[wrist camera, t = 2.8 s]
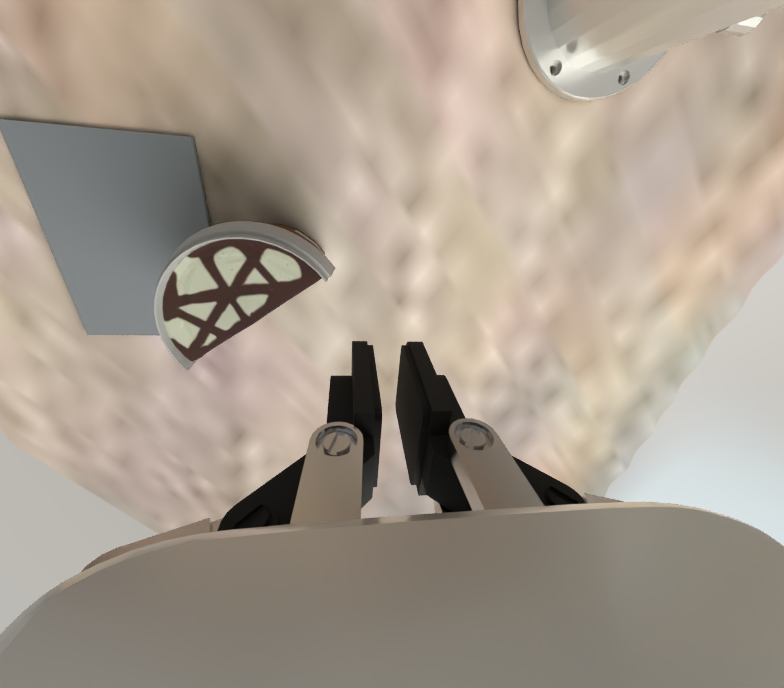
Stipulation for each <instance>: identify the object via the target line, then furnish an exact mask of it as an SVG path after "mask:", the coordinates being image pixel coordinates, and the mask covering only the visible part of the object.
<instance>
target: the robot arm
mask: <svg viewBox="0 0 784 688" xmlns="http://www.w3.org/2000/svg"><path fill="white" fill-rule="evenodd" d="M782 6H784V0H518V15H519V29H520V34H521V39H522V45H523V49H524V51H525V54H526V57H527V59H528V62H529V65H530V66H531V68H532V70H533V71H534V73H535V74H536V76H537V78H538V79H539V80H540V81H541V82H542V83H543V84H544V85H545V86H546V87H547V88H548V90H549V91H551V92H553V93H555V94H556V95H558V96H560V97H561V98H564V99H568V100H572V101H576V102H578V101H594V100H598V99H603V98H606V97H609V96H612V95H614V94H617V93H620V92H622V91H623V90H625V89H627V88H628V87H630V86H632V85H633V84H635V83H636V82H638V81H639V80H640V79H641V78H642V77H644V76H645V75H646V74H647V73H648V72H650V71H651V70H652V69H653V68H654V66H655V65H656V64H657V63H658V62H659V61H660V60H661V59H662V58H663V56H664V55H665V54H666V53H667V51H668V50H669V49H671V48H673V47H676V46H679V45H681V44H684V43H687V42H689V41H692V40H695V39H697V38H700V37H702V36H705V35H708V34H710V33H713V32H718V33H722V34H728V35H734V36H742V35H745V34H747V33H749V32H750V31H751V30H753V29H754V28H755V27H756V26H757V25H758V24H759V22H760V21H761V20H762V19H763V18H764V16H765V14H766V12H769V11H772V10H774V9H777V8H779V7H782ZM550 68H551V69H552V73H550ZM396 414H397V419H398V424H399V429H400V434H401V439H402V444H403V449H404V454H405V459H406V464H407V469H408V474H409V479H410V483H411V485H416V486H417V491H418V495H428V496H429V497H431V498H432V499H433V500H434V508H435V512H436V513H434V514H420V515H406V516H392V517H378V518H365V519H361V508H362V507H363V506H364V505H365V504H366V503H367V502H368V501H369V500H370V499H371V498H372V493H373V487H377V478H378V465H379V452H380V439H381V426H382V407H381V399H380V392H379V385H378V378H377V371H376V364H375V357H374V350H373V345H367V341H352V376H331V379H330V391H329V403H328V415H327V424H325V425H323V426H321V427H319V428H317V429H316V430H315V432H314V433H313V434H312V436H311V438H310V441H309V445H308V449H307V453H306V455H304V456H303V457H302V458H300V459H299V460H297V461H296V462H295V463H293V464H292V465H290V466H289V467H288V468H286V469H285V470H283V471H282V472H281V473H279V474H278V475H276V476H275V477H274V478H272V479H271V480H270V481H268V482H267V483H265V484H264V485H263V486H261V487H260V488H258V489H257V490H256V491H254V492H253V493H251V494H250V495H249V496H247V497H246V498H244V499H243V500H242V501H240V502H239V503H237V504H236V505H235V506H234V507H233V508H232V509H230V510H229V511H228V512H227V513H226V515H225V516H224V518H222V519H219V520H216V521H213V522H211V520H210V518H207V519H204V520H201V521H198V522H195V523H192V524H189V525H186V526H183V527H180V528H177V529H174V530H171V531H168V532H164V533H161V534H158V535H155V536H152V537H149V538H146V539H143V540H140V541H137V542H134V543H131V544H128V545H125V546H121V547H118V548H115V549H113V550H111V551H109V552H107V553H105V554H102V555H101V556H99V557H98V558H97V559H95V560H94V561H92V562H91V563H90V564H88V565H87V566H86V567H85V568H84V569H83V570H82V571H81V572H80V573H79V574H77V575H75V576H73V577H71V578H69V579H68V580H66V581H64V582H62V583H60V584H59V585H58V586H56V587H55V588H53V589H52V590H50V591H49V592H47V593H46V594H44V595H43V596H41V597H40V598H39V599H38V600H37V601H35V602H34V603H33V604H32V605H31V606H29V607H28V608H27V609H26V610H25V611H23V612H22V613H21V614H20V615H19V616H18V617H17V618H16V619H15V620H14V621H13V622H12V623H11V624H10V625H9V626H8V627H7V628H6V629H5V630H4V631H3V632H2V633H1V634H0V688H784V546H783V545H781V544H780V543H779V542H778V541H776V540H775V539H773V538H772V537H770V536H769V535H767V534H766V533H764V532H762V531H761V530H759V529H757V528H755V527H753V526H751V525H749V524H746V523H744V522H741V521H739V520H737V519H734V518H731V517H728V516H725V515H722V514H718V513H715V512H711V511H707V510H704V509H700V508H696V507H690V506H683V505H678V504H669V503H656V502H623V501H619V500H614V499H609V498H604V497H600V496H595V495H590V494H586V493H584V495H583V497H581V496H580V495H579V494H578V493H577V492H576V491H575V490H573V489H572V488H570V487H569V486H567V485H566V484H564V483H562V482H560V481H558V480H556V479H554V478H553V477H551V476H549V475H547V474H545V473H543V472H541V471H539V470H538V469H536V468H534V467H532V466H530V465H528V464H526V463H524V462H523V461H521V460H519V459H517V458H515V457H513V456H511V454H510V453H509V451H508V450H507V448H506V447H505V445H504V444H503V442H502V441H501V439H500V437H499V436H498V434H497V433H496V432H495V431H494V430H493V428H491V427H490V426H489V425H487V424H486V423H484V422H481V421H479V420H475V419H469V418H465V416H464V414H463V412H462V410H461V408H460V406H459V404H458V402H457V399H456V397H455V395H454V393H453V391H452V389H451V387H450V385H449V383H448V380H447V378H446V377H445V376H444V375H437V374H436V372H435V370H434V367H433V365H432V363H431V361H430V358H429V356H428V354H427V351H426V349H425V347H424V344H423V342H407V344H406V345H402V347H401V355H400V365H399V375H398V385H397V395H396Z"/></svg>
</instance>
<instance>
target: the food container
mask: <svg viewBox="0 0 784 688" xmlns="http://www.w3.org/2000/svg"><path fill="white" fill-rule="evenodd" d="M334 270H335V267H334V266H333V264H332V263H331V262H330V261H329V260H328V258H327V257H326V256H325V253H324V252H323V250H322V249H321V248H320V247H319V246H318V244H317V243H316V242H315V241H313V240H312V239H311V238H309V237H308V236H306V235H305V234H304V233H302V232H301V231H299V230H296V229H293V228H291V227H288V226H285V225H282V224H266V223H260V222H253V221H232V222H226V223H220V224H216V225H213V226H210V227H207V228H205V229H202V230H200V231H199V232H197V233H195V234H194V235H192V236H190V237H189V238H188V239H187V240H185V241H184V242H183V243H182V244H181V245H180V246H179V247H178V248H177V249H176V251H175V252H174V254H173V255H172V256H171V258H170V259H169V260H168V262H167V263H166V265H165V266H164V267H163V270H162V272H161V274H160V276H159V279H158V281H157V286H156V291H155V299H154V315H155V320H156V325H157V329H158V331H159V334H160V337H161V339H162V341H163V343H164V345H165V346H166V348H167V350H168V351H169V353H170V354H171V355H172V357H173V358H174V359H175V360H176V362H177V363H178V364H179V365H180V366H181V367H182V368H183V369H184V370H185V371H186V372H187V371H188V370H189V369H190V368H191V367H192V365H193V364H194V363H195V362H196V361H197V360H198V358H200V357H202V356H203V355H204V354H206V353H207V352H209V351H210V350H212V349H213V348H215V347H216V346H218V345H219V344H221V343H223V342H224V341H226V340H227V339H229V338H231V337H232V336H234V335H235V334H237V333H239V332H240V331H242V330H244V329H245V328H247V327H249V326H250V325H252V324H254V323H255V322H257V321H258V320H260V319H261V318H263V317H264V316H265V315H267V314H268V313H270V312H271V311H273V310H274V309H276V308H277V307H279V306H280V305H282V304H283V303H285V302H286V301H288V300H289V299H291V298H293V297H294V296H296V295H297V294H299V293H300V292H302V291H303V290H305V289H306V288H308V287H309V286H311V285H313V284H314V283H316V282H317V281H319V280H320V279H323V280H324V281H325V282H327V280H328V278H329V277H330V276H331V275H332V273H333V271H334Z"/></svg>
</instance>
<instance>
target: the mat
mask: <svg viewBox="0 0 784 688" xmlns="http://www.w3.org/2000/svg"><path fill="white" fill-rule="evenodd" d="M0 130H1V132H2V134H3V137H4V139H5V142H6V144H7V146H8V149H9V151H10V153H11V156H12V158H13V160H14V163H15V165H16V168H17V170H18V172H19V175H20V177H21V179H22V182H23V184H24V186H25V189H26V191H27V193H28V196H29V198H30V201H31V203H32V205H33V208H34V210H35V212H36V215H37V217H38V219H39V222H40V224H41V227H42V229H43V231H44V234H45V236H46V238H47V241H48V243H49V245H50V248H51V250H52V253H53V255H54V257H55V260H56V262H57V264H58V267H59V269H60V271H61V274H62V276H63V279H64V281H65V283H66V286H67V288H68V290H69V293H70V295H71V297H72V300H73V302H74V305H75V307H76V309H77V312H78V314H79V316H80V319H81V321H82V323H83V326H84V328H85V331H86V333H87V335H160V334H159V331H158V329H157V325H156V320H155V315H154V299H155V291H156V286H157V281H158V279H159V276H160V274H161V272H162V270H163V267H164V266H165V265H166V263H167V262H168V260H169V259H170V258H171V256H172V255H173V254H174V252H175V251H176V249H177V248H178V247H179V246H180V245H181V244H182V243H183V242H184V241H185V240H187V239H188V238H189V237H190V236H192V235H194V234H195V233H197V232H199V231H200V230H202V229H205V228H207V227H210V221H209V216H208V210H207V205H206V200H205V194H204V189H203V183H202V178H201V173H200V167H199V162H198V156H197V151H196V146H195V140H194V137H189V136H178V135H167V134H157V133H146V132H135V131H124V130H113V129H102V128H92V127H81V126H70V125H59V124H48V123H37V122H27V121H16V120H5V119H0Z"/></svg>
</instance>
